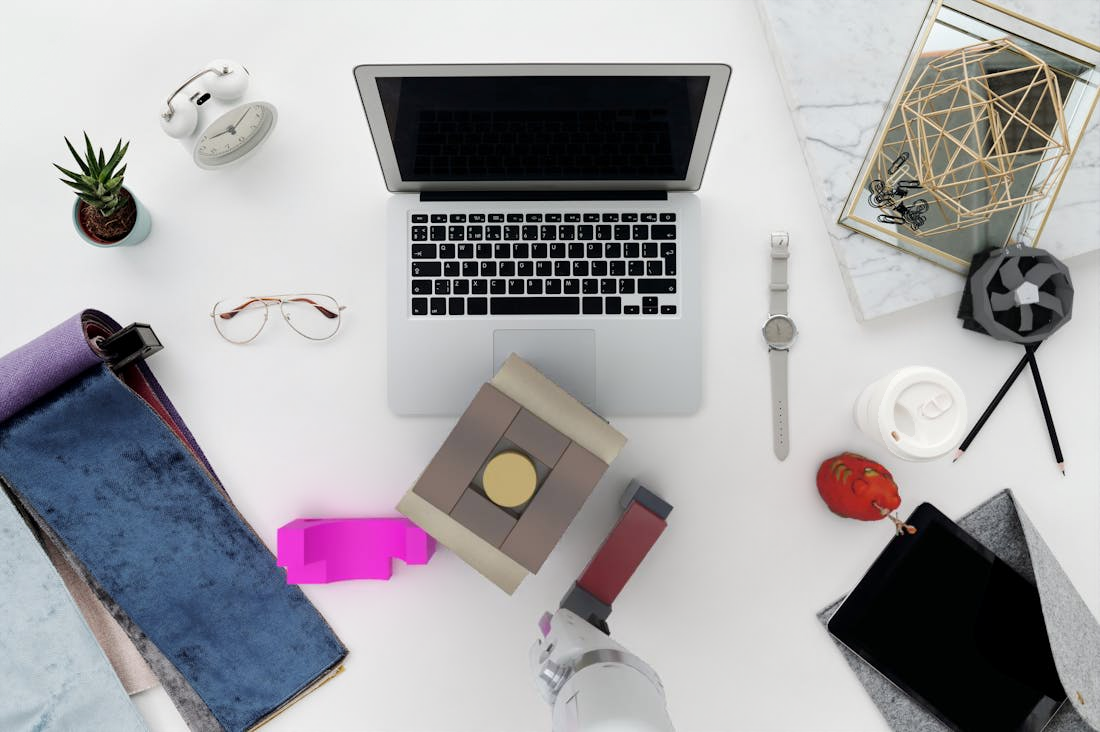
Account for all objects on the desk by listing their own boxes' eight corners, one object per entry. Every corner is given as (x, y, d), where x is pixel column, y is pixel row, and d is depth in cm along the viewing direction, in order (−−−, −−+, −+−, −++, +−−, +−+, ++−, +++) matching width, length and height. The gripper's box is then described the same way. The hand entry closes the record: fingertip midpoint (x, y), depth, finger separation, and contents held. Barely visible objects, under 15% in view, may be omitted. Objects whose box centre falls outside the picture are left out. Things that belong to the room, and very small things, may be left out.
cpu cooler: (1064, 353, 81) (971, 327, 81) (1029, 355, 86) (942, 331, 86) (1088, 258, 81) (995, 232, 81) (1052, 267, 87) (965, 242, 87)
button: (518, 511, 60) (516, 517, 57) (475, 482, 60) (472, 487, 57) (546, 468, 60) (547, 472, 57) (504, 440, 60) (502, 442, 57)
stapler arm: (595, 624, 78) (595, 635, 76) (559, 600, 78) (558, 610, 76) (668, 521, 77) (670, 528, 75) (631, 497, 77) (633, 503, 75)
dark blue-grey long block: (599, 607, 85) (604, 628, 77) (554, 576, 85) (555, 595, 77) (674, 494, 85) (687, 504, 78) (629, 464, 85) (638, 471, 78)
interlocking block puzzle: (525, 541, 85) (518, 613, 58) (432, 478, 85) (382, 521, 58) (607, 420, 86) (637, 435, 59) (514, 358, 86) (502, 344, 59)
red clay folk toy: (885, 464, 86) (958, 480, 71) (866, 524, 86) (936, 553, 71) (820, 443, 86) (879, 455, 71) (801, 503, 86) (857, 528, 71)
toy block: (300, 573, 85) (277, 591, 77) (300, 516, 85) (277, 529, 77) (436, 572, 85) (426, 589, 77) (436, 515, 85) (426, 527, 78)
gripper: (485, 692, 53) (499, 619, 71) (667, 818, 52) (634, 711, 70) (546, 600, 53) (545, 551, 71) (727, 724, 53) (679, 642, 71)
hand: (590, 631), depth 71 cm, fingers closed
